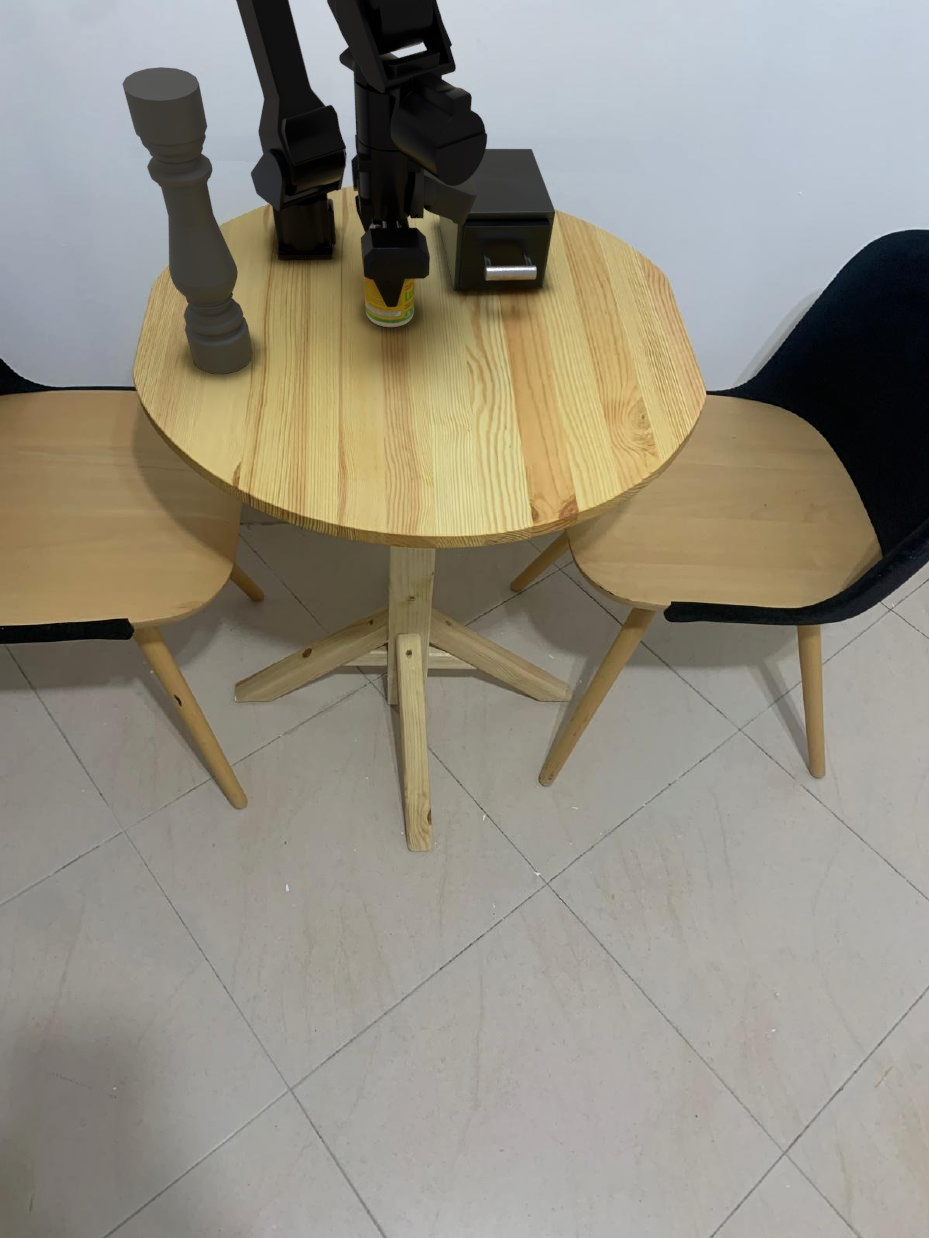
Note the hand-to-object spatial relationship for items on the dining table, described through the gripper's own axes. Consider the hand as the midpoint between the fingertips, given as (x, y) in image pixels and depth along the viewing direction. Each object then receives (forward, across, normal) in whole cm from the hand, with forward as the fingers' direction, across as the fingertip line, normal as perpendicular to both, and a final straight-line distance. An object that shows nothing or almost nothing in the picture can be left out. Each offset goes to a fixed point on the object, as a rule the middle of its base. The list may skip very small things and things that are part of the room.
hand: (389, 290), depth 84 cm
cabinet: (+3, +11, -13) cm, 17 cm away
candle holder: (+3, -6, +18) cm, 19 cm away
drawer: (+2, +7, -13) cm, 15 cm away
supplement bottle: (+3, 0, 0) cm, 3 cm away
